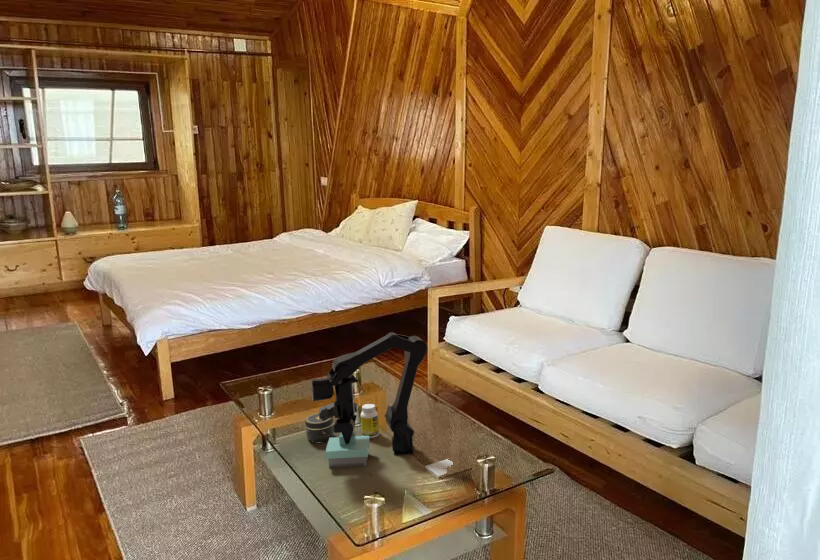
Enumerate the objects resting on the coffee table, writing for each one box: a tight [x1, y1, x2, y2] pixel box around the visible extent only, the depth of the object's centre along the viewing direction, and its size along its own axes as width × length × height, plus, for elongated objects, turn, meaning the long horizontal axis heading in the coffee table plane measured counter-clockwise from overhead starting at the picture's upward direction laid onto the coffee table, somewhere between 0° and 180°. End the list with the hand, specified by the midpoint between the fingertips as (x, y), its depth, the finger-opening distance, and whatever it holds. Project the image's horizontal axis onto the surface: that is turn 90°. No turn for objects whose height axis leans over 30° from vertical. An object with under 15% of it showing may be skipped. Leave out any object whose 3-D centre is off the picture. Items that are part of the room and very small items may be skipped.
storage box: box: [328, 456, 369, 469], centre depth 201 cm, size 12×9×5 cm
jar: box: [304, 412, 335, 443], centre depth 219 cm, size 10×10×8 cm
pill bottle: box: [360, 403, 380, 439], centre depth 219 cm, size 6×6×11 cm
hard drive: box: [424, 458, 453, 478], centre depth 192 cm, size 2×8×12 cm
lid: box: [325, 431, 371, 460], centre depth 200 cm, size 13×10×6 cm
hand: (347, 441), depth 200 cm, fingers closed on lid, 3 cm apart
